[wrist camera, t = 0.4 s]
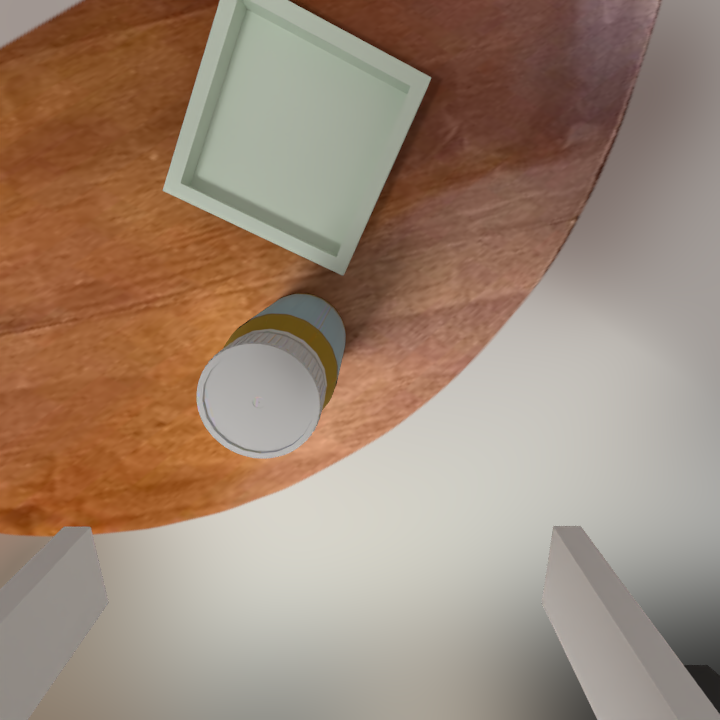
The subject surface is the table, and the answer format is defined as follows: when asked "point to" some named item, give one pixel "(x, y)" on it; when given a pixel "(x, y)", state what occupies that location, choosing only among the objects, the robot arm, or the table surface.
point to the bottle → (273, 377)
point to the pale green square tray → (293, 128)
